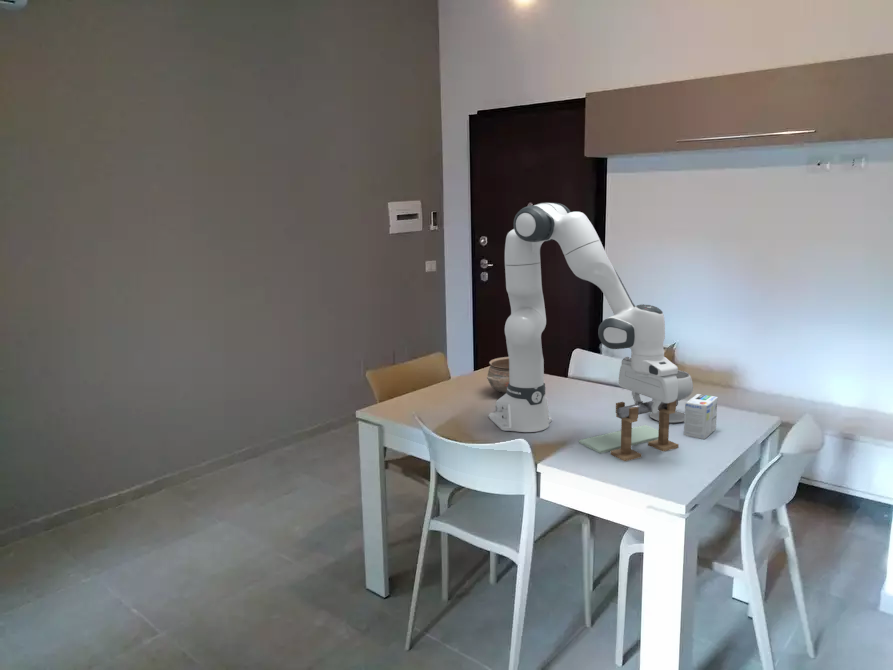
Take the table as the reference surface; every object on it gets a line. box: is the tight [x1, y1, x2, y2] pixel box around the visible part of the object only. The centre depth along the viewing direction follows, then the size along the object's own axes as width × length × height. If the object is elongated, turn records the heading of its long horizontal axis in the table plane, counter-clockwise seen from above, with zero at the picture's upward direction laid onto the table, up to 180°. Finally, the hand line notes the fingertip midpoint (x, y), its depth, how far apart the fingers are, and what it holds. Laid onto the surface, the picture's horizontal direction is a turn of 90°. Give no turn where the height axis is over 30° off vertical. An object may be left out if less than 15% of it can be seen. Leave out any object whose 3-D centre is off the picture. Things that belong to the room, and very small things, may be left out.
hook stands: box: [610, 400, 679, 462], centre depth 189 cm, size 6×20×15 cm, turn 116°
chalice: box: [649, 369, 694, 424], centre depth 216 cm, size 14×14×15 cm
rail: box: [617, 399, 679, 419], centre depth 187 cm, size 20×3×3 cm, turn 116°
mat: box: [578, 424, 659, 454], centre depth 199 cm, size 10×26×1 cm, turn 116°
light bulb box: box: [683, 393, 719, 440], centre depth 203 cm, size 11×7×11 cm, turn 141°
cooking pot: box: [486, 356, 509, 395], centre depth 249 cm, size 25×19×12 cm
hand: (645, 409), depth 188 cm, fingers open, 5 cm apart
